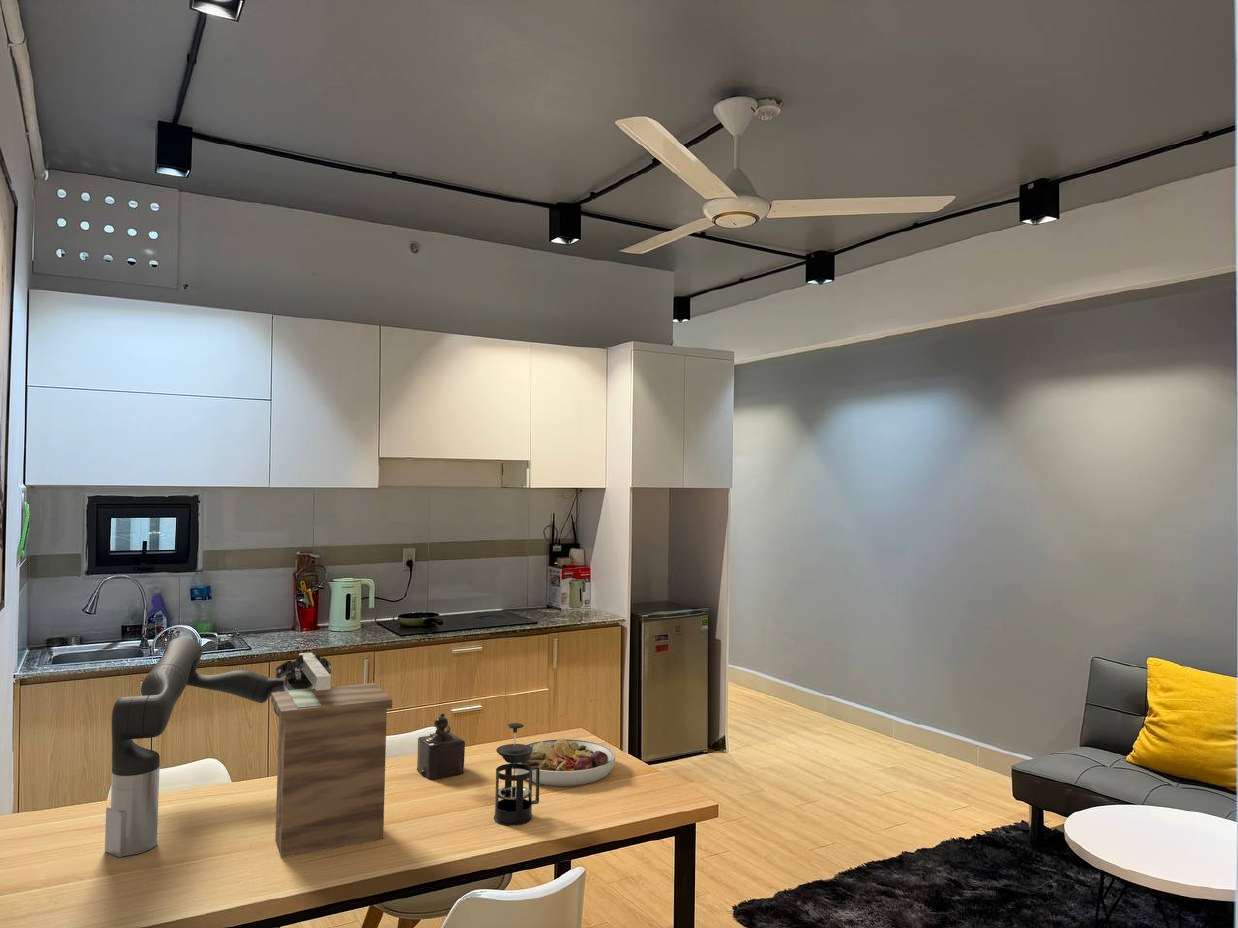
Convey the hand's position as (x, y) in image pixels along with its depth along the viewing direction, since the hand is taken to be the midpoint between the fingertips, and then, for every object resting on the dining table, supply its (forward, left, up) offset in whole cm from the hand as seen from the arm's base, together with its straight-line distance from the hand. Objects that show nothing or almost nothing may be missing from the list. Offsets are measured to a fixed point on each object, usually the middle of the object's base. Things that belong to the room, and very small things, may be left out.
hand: (309, 658), depth 203 cm
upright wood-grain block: (-3, -12, -39) cm, 41 cm away
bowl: (+64, -32, -39) cm, 81 cm away
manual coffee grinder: (+42, -6, -39) cm, 57 cm away
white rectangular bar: (-4, -6, -3) cm, 8 cm away
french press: (+29, -42, -39) cm, 64 cm away
